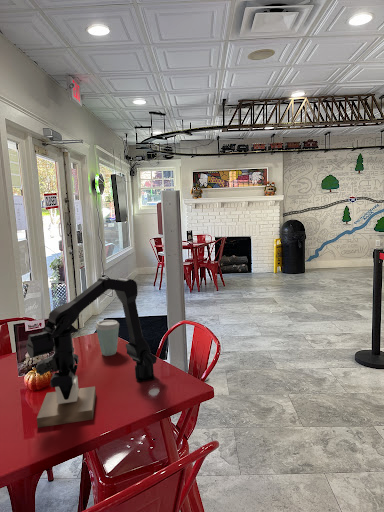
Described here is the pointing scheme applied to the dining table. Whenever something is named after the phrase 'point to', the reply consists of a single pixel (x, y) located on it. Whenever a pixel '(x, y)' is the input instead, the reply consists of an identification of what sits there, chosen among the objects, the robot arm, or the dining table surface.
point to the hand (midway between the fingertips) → (67, 394)
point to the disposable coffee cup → (107, 336)
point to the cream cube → (73, 393)
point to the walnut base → (67, 409)
